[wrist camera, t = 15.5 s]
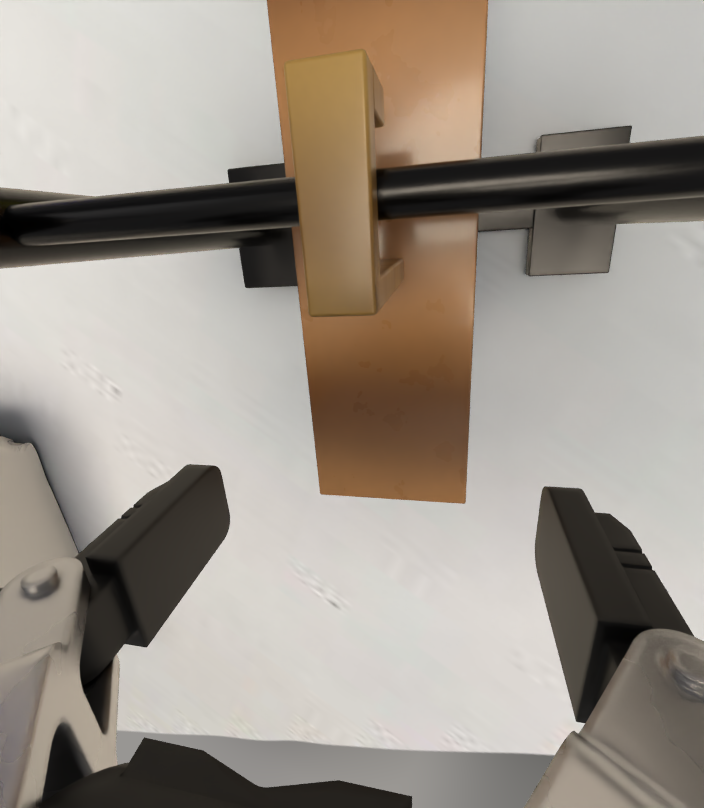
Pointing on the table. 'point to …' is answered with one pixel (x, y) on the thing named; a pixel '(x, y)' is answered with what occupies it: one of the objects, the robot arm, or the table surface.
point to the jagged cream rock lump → (28, 513)
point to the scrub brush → (382, 234)
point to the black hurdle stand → (382, 207)
